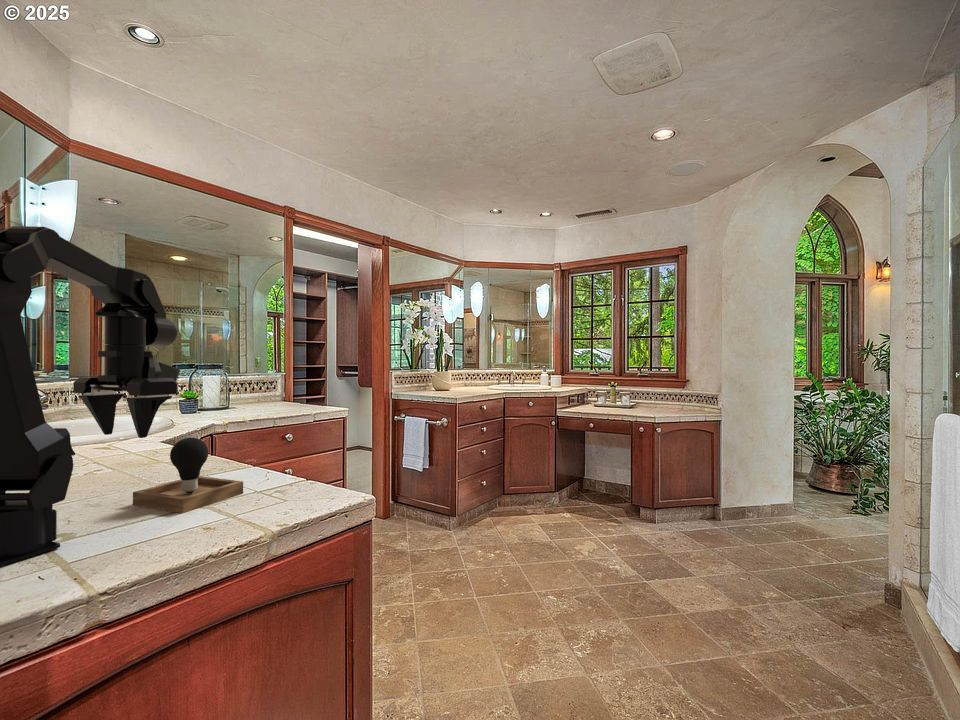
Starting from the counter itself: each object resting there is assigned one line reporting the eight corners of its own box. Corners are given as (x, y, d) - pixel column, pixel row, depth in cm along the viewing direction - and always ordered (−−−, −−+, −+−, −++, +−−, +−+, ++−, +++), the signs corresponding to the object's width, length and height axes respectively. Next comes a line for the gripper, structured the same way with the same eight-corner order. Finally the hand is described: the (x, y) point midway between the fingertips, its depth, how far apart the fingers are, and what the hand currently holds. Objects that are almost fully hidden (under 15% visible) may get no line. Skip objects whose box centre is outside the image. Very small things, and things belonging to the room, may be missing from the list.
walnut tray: (183, 513, 76) (182, 499, 76) (132, 504, 80) (132, 492, 80) (243, 493, 88) (243, 481, 88) (196, 486, 92) (196, 475, 92)
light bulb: (195, 498, 81) (195, 440, 81) (162, 498, 81) (161, 440, 81) (215, 488, 87) (215, 435, 87) (184, 488, 87) (184, 434, 87)
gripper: (206, 346, 84) (206, 432, 84) (139, 347, 91) (138, 427, 91) (142, 344, 74) (142, 442, 74) (71, 345, 81) (71, 435, 81)
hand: (125, 436), depth 80 cm, fingers open, 9 cm apart
